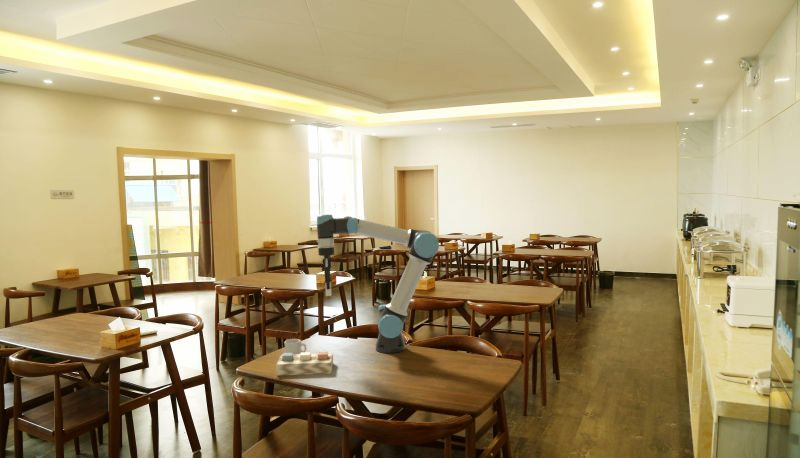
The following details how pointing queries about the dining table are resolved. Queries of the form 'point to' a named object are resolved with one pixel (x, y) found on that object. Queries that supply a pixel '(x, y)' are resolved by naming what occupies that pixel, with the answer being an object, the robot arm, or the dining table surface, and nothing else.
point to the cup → (294, 346)
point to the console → (304, 365)
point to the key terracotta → (322, 355)
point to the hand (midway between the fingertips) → (328, 295)
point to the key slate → (287, 357)
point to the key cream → (305, 356)
